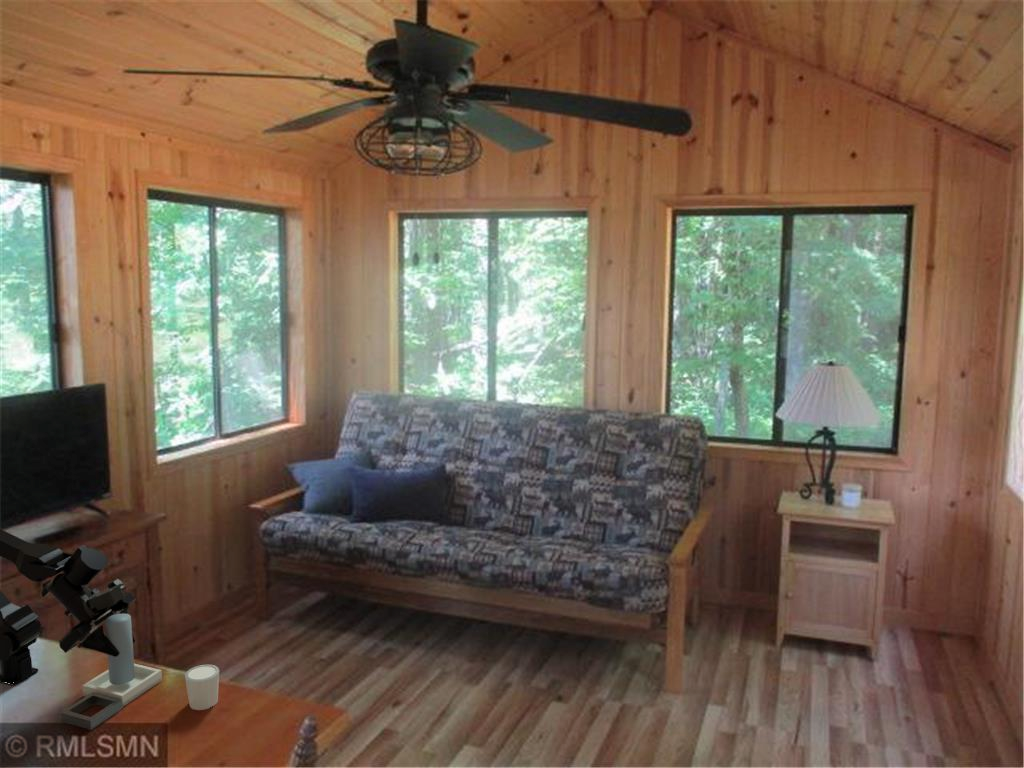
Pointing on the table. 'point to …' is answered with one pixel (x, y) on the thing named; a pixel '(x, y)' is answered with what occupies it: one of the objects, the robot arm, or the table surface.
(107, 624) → the post
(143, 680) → the tray
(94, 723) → the socket
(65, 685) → the table surface
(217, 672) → the white cup
